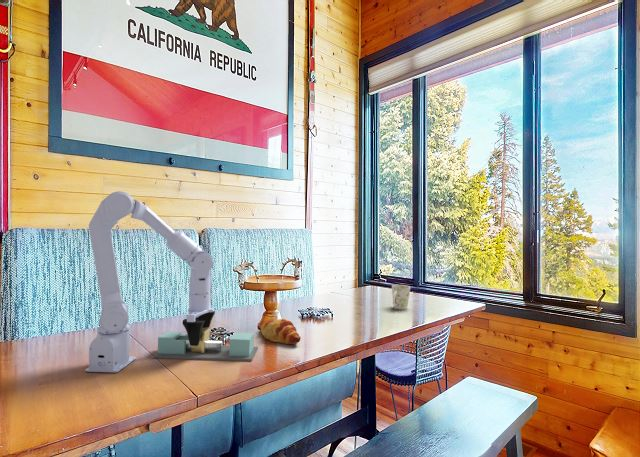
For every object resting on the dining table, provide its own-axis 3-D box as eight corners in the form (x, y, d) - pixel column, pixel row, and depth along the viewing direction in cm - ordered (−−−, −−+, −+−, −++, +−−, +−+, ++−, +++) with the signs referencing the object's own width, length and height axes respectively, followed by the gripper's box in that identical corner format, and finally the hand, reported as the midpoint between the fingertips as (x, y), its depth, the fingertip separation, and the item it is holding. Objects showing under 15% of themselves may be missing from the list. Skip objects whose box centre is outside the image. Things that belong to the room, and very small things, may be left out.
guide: (153, 358, 100) (153, 339, 100) (168, 345, 110) (169, 328, 110) (251, 361, 100) (251, 342, 100) (257, 348, 110) (258, 331, 110)
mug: (412, 307, 171) (412, 286, 171) (402, 313, 160) (403, 289, 160) (394, 305, 175) (395, 284, 175) (384, 310, 164) (385, 287, 164)
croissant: (255, 342, 127) (246, 323, 125) (277, 324, 133) (268, 305, 130) (292, 359, 111) (282, 337, 108) (315, 338, 117) (306, 317, 114)
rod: (162, 351, 103) (162, 330, 103) (169, 346, 107) (169, 325, 107) (219, 353, 103) (219, 332, 103) (223, 348, 107) (224, 327, 107)
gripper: (206, 298, 98) (205, 350, 98) (221, 288, 112) (220, 333, 112) (179, 297, 98) (178, 349, 98) (197, 288, 112) (196, 332, 112)
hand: (199, 340), depth 105 cm, fingers open, 7 cm apart
